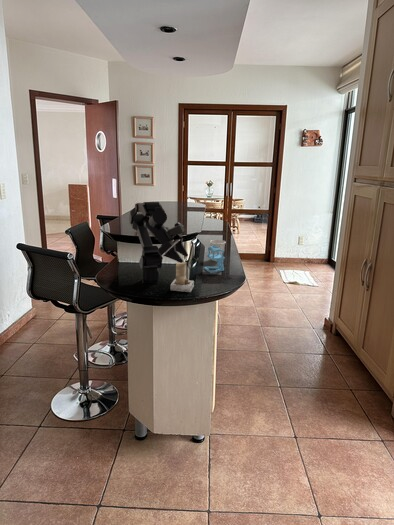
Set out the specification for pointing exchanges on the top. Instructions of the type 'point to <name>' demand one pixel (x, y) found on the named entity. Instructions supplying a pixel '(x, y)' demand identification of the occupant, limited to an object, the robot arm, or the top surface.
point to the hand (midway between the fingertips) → (184, 259)
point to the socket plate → (182, 286)
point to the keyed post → (181, 273)
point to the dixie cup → (217, 245)
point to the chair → (216, 257)
